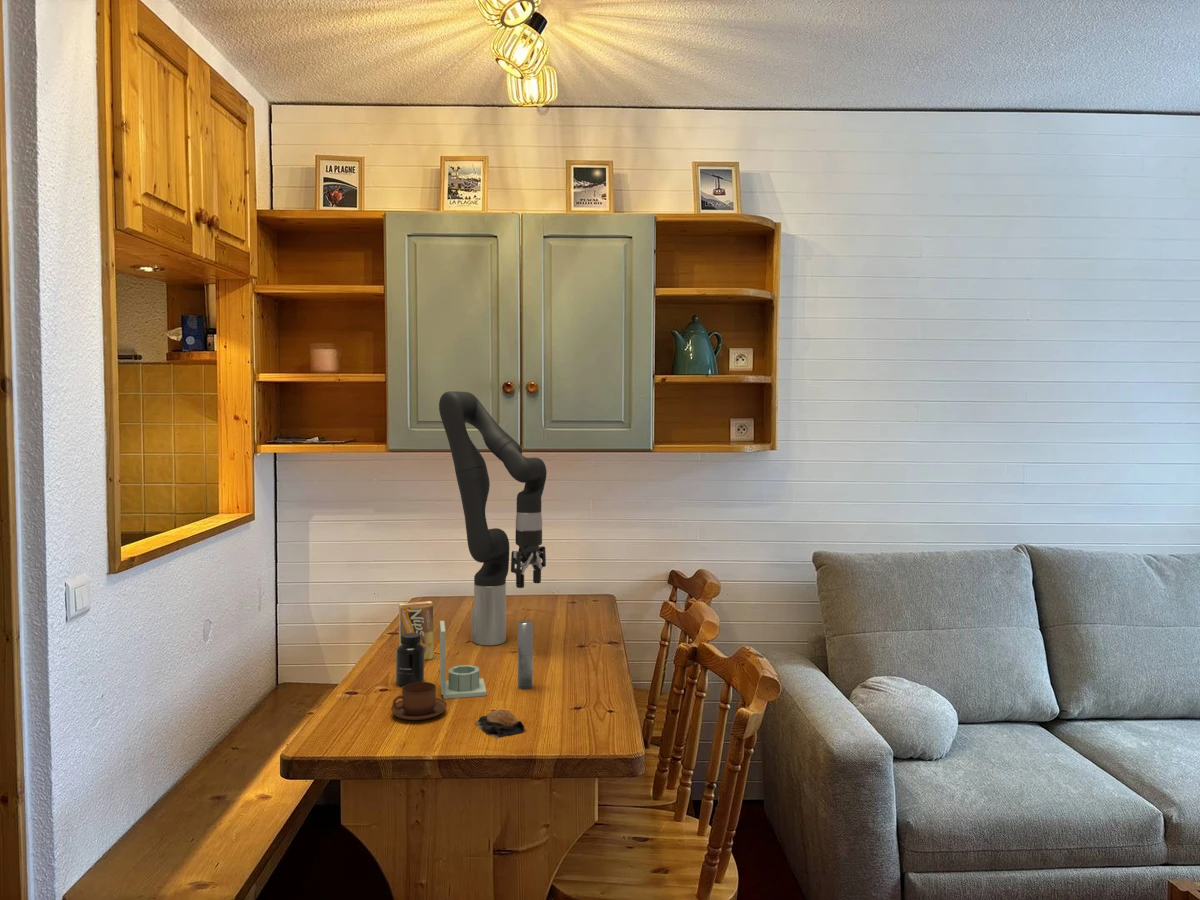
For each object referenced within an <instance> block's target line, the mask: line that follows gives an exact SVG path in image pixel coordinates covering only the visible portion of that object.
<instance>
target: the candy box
mask: <svg viewBox="0 0 1200 900" xmlns="http://www.w3.org/2000/svg"><path fill="white" fill-rule="evenodd" d="M405 633H418V634H420V640H421V642H420V644H421V645H422V646H423V647H424V661H425V660H433V659H434V604H433V602H432V601H431V600H430V601H429V600H428V601H416V602H402V603H399V604H398V637H399V638H398V645H399V646H400V645H401V643H400V641H401V635H402V634H405ZM399 646H398V647H399Z"/></svg>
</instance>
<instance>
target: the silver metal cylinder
mask: <svg viewBox="0 0 1200 900" xmlns="http://www.w3.org/2000/svg"><path fill="white" fill-rule="evenodd" d="M533 622H534V621H531V620H519V621H518V622H517V688H518V690H519V689H520V690H529V689H530V690H531V689H533V686H534V685H533V683H534V682H533V681H534V680H533V677H534V675H533V674H534V672H533V671H534V669H533V667H534V663H533V662H534V660H533V659H534V658H533V657H534V652H533V650H534V645H533V643H534V642H533V641H534V637H533V636H534V633H533V632H534V629H533V628H534V627H533V626H534V623H533Z"/></svg>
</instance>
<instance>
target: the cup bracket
mask: <svg viewBox="0 0 1200 900" xmlns="http://www.w3.org/2000/svg"><path fill="white" fill-rule="evenodd" d="M446 635H447V634H446V625H445V620H439V673H440V674H439V677H440V679H439V682H440V693H441V696H442V695H443V696H442V697H443V700H445V699H446V700H447V699H448V700H449V699H459V698H460V699H462V698H463V699H464V698H475V697H486V696H487V689H486V684H485V680H484V678H483V677H480V668H479V666H475V665H470V664H461V665H455V666H452V667H451V668H448V680H446V679H447V674H446V673H447V672H446V671H447V667H446V664H447V663H446V662H447V661H446V660H447V659H446V658H447V657H446V653H447V651H446V646H447V645H446V643H447V642H446V638H447V637H446Z"/></svg>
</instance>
